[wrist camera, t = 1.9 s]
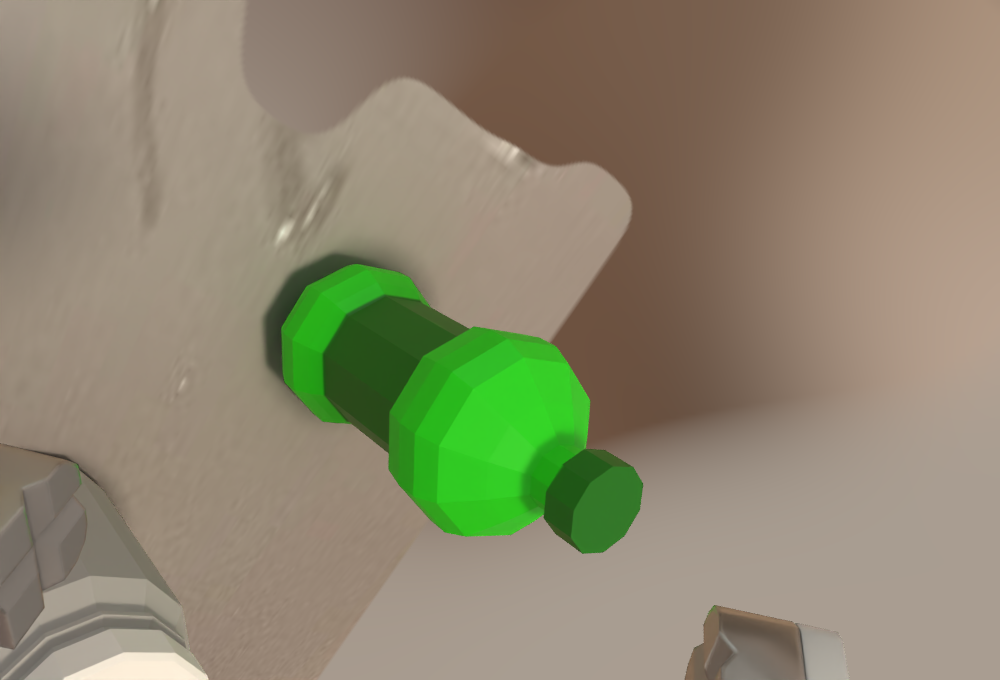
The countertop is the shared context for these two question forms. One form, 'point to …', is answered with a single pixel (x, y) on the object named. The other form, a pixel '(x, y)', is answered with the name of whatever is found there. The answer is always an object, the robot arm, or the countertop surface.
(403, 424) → the plastic bottle
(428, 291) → the countertop surface
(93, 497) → the jar
